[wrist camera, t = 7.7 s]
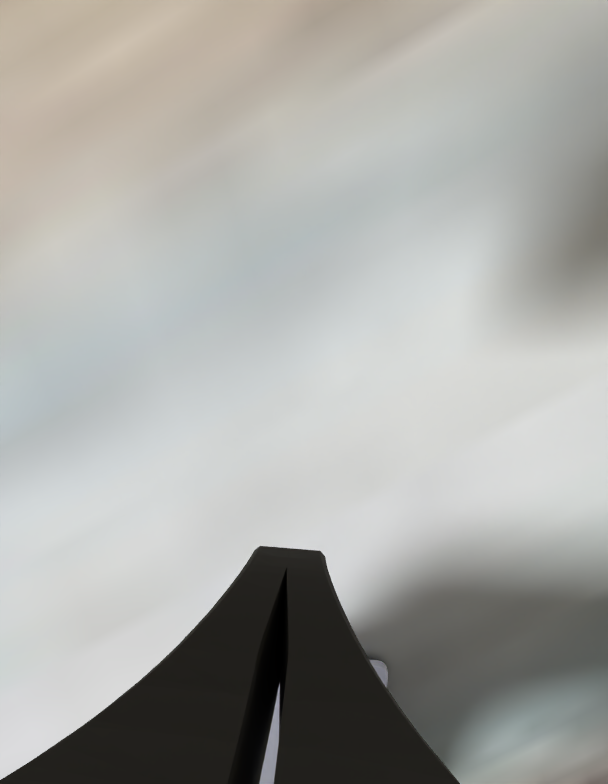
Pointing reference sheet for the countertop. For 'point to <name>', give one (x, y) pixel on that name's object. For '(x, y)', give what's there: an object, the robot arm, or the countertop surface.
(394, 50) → the countertop surface
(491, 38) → the countertop surface
